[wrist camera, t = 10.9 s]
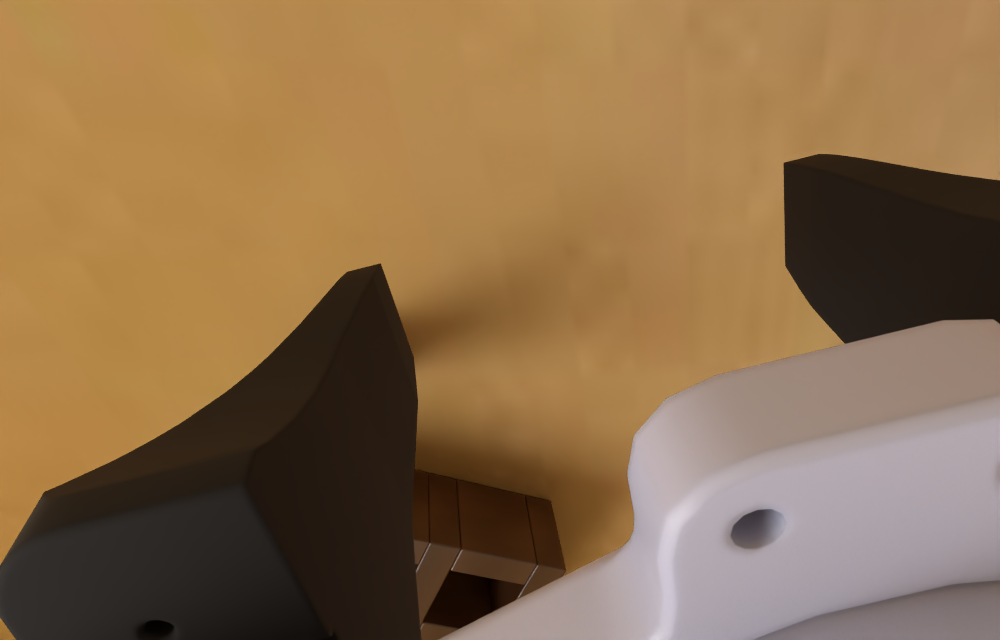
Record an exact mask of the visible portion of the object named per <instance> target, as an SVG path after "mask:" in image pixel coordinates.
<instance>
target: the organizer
mask: <svg viewBox="0 0 1000 640" xmlns="http://www.w3.org/2000/svg"><path fill="white" fill-rule="evenodd" d="M413 537H414V553H415V569H416V581H417V594H418V606H419V618H420V629H421V639H422V640H439V639H441V638H443V637H444V636H446V635H448V634H450V633H452V632H454V631H456V630H458V629H460V628H462V627H464V626H466V625H468V624H470V623H472V622H474V621H476V620H478V619H480V618H482V617H484V616H486V615H488V614H490V613H492V612H494V611H496V610H498V609H500V608H502V607H504V606H506V605H507V604H509V603H511V602H513V601H515V600H517V599H519V598H521V597H523V596H525V595H527V594H529V593H531V592H533V591H535V590H537V589H539V588H541V587H543V586H545V585H547V584H549V583H551V582H553V581H555V580H557V579H559V578H561V577H563V575H564V573H565V572H566V567H565V563H564V558H563V554H562V549H561V545H560V540H559V535H558V531H557V526H556V522H555V517H554V513H553V508H552V504H551V501H547V500H543V499H539V498H534V497H530V496H524V495H521V494H516V493H512V492H508V491H504V490H499V489H495V488H491V487H486V486H482V485H478V484H473V483H469V482H465V481H460V480H457V481H456V480H455V479H452V478H447V477H443V476H439V475H434V474H430V473H429V474H428V473H427V472H423V471H418V470H414V485H413Z"/></svg>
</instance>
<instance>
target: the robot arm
mask: <svg viewBox="0 0 1000 640" xmlns="http://www.w3.org/2000/svg"><path fill="white" fill-rule="evenodd" d="M784 212H785V266H786V268H787V269H788V271H789V273H790V274H791V276H792V277H793V279H794V281H795V282H796V284H797V286H798V287H799V289H800V290H801V292H802V293H803V295H804V296H805V298H806V299H807V301H808V302H809V304H810V305H811V306H812V308H813V309H814V310H815V311H816V312H817V313H818V314H819V316H820V317H821V318H822V319H823V320H824V321H825V322H826V323H827V324H828V326H829V327H830V328H831V329H832V330H833V331H834V332H835V333H836V334H837V336H838V337H839V338H840V339H841V340H842V341H843V342H844V343H845V344H843V345H838V346H834V347H830V348H826V349H822V350H818V351H814V352H809V353H805V354H801V355H797V356H793V357H789V358H785V359H780V360H776V361H772V362H768V363H764V364H760V365H756V366H751V367H747V368H743V369H739V370H735V371H731V372H727V373H722V374H718V375H715V376H713V377H711V378H709V379H706V380H704V381H702V382H700V383H698V384H696V385H694V386H691V387H689V388H687V389H685V390H683V391H681V392H678V393H676V394H674V395H672V396H670V397H668V398H666V399H665V400H664V401H663V402H662V404H661V405H660V406H659V407H658V408H657V409H656V410H655V412H654V413H653V414H652V415H651V416H650V417H649V418H648V420H647V421H646V422H645V423H644V424H643V425H642V426H641V428H640V429H639V430H638V431H637V432H636V433H635V434H634V437H633V443H632V449H631V455H630V461H629V466H628V472H627V476H628V482H629V487H630V493H631V498H632V504H633V510H634V530H633V533H632V536H631V538H630V539H629V540H628V541H627V542H626V543H625V544H624V545H623V546H622V547H620V548H618V549H616V550H614V551H612V552H610V553H608V554H606V555H604V556H602V557H600V558H598V559H596V560H594V561H592V562H590V563H588V564H586V565H584V566H582V567H580V568H578V569H576V570H574V571H572V572H570V573H569V574H567V575H565V576H563V577H561V578H559V579H557V580H555V581H553V582H551V583H549V584H547V585H545V586H543V587H541V588H539V589H537V590H535V591H533V592H531V593H529V594H527V595H525V596H523V597H521V598H519V599H517V600H515V601H513V602H511V603H509V604H507V605H506V606H504V607H502V608H500V609H498V610H496V611H494V612H492V613H490V614H488V615H486V616H484V617H482V618H480V619H478V620H476V621H474V622H472V623H470V624H468V625H466V626H464V627H462V628H460V629H458V630H456V631H454V632H452V633H450V634H448V635H446V636H444V637H443V638H441V639H439V640H1000V181H999V180H991V179H984V178H976V177H969V176H961V175H954V174H948V173H942V172H935V171H929V170H924V169H918V168H912V167H907V166H901V165H896V164H890V163H885V162H879V161H874V160H868V159H862V158H856V157H849V156H842V155H831V154H817V155H813V156H809V157H805V158H801V159H797V160H793V161H789V162H785V163H784ZM417 411H418V397H417V385H416V375H415V366H414V357H413V354H412V351H411V348H410V345H409V343H408V340H407V337H406V334H405V331H404V328H403V326H402V323H401V320H400V317H399V314H398V311H397V309H396V306H395V303H394V300H393V297H392V294H391V291H390V289H389V286H388V283H387V280H386V277H385V274H384V272H383V269H382V266H381V264H377V265H373V266H369V267H365V268H361V269H357V270H353V271H349V272H347V273H345V274H344V275H343V276H342V277H341V278H340V279H339V280H338V281H337V282H336V283H335V285H334V286H333V287H332V288H331V289H330V290H329V291H328V293H327V294H326V295H325V296H324V297H323V298H322V300H321V301H320V302H319V303H318V304H317V305H316V306H315V308H314V309H313V310H312V311H311V312H310V313H309V314H308V316H307V317H306V318H305V319H304V320H303V321H302V322H301V324H300V325H299V326H298V327H297V328H296V329H295V330H294V331H293V332H292V333H291V334H290V335H289V336H288V337H287V338H286V339H285V340H284V341H283V342H282V343H281V344H280V345H279V346H278V347H277V348H276V349H275V350H274V351H273V352H272V353H271V354H270V355H269V356H268V357H267V358H266V359H265V360H264V361H263V362H262V363H261V364H260V365H258V366H257V367H256V368H255V369H254V370H253V371H252V372H250V373H249V374H248V375H247V376H245V377H244V378H243V379H242V380H241V381H239V382H238V383H237V384H236V385H234V386H233V387H232V388H231V389H229V390H228V391H227V392H225V393H224V394H223V395H221V396H220V397H218V398H217V399H215V400H214V401H213V402H211V403H210V404H208V405H207V406H205V407H204V408H202V409H201V410H199V411H198V412H197V413H195V414H194V415H192V416H191V417H189V418H188V419H186V420H185V421H183V422H182V423H180V424H179V425H177V426H175V427H174V428H172V429H170V430H169V431H167V432H165V433H164V434H162V435H160V436H158V437H157V438H155V439H153V440H151V441H150V442H148V443H146V444H144V445H142V446H140V447H139V448H137V449H135V450H133V451H131V452H129V453H128V454H126V455H124V456H122V457H120V458H118V459H116V460H114V461H112V462H110V463H108V464H105V465H103V466H101V467H99V468H97V469H95V470H92V471H90V472H88V473H86V474H84V475H81V476H79V477H77V478H75V479H73V480H71V481H68V482H66V483H64V484H62V485H60V486H57V487H55V488H53V489H50V490H48V491H46V492H44V493H43V495H42V497H41V499H40V500H39V502H38V504H37V505H36V507H35V509H34V510H33V512H32V514H31V515H30V517H29V519H28V520H27V522H26V524H25V525H24V527H23V529H22V530H21V532H20V534H19V535H18V537H17V539H16V540H15V542H14V544H13V545H12V547H11V549H10V550H9V552H8V554H7V555H6V557H5V559H4V560H3V562H2V564H1V565H0V618H1V619H2V620H3V622H4V623H5V625H6V626H7V627H8V629H9V630H10V632H11V633H12V635H13V636H14V637H15V639H16V640H422V639H421V629H420V618H419V606H418V594H417V581H416V569H415V553H414V537H413V485H414V467H415V450H416V432H417Z"/></svg>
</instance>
